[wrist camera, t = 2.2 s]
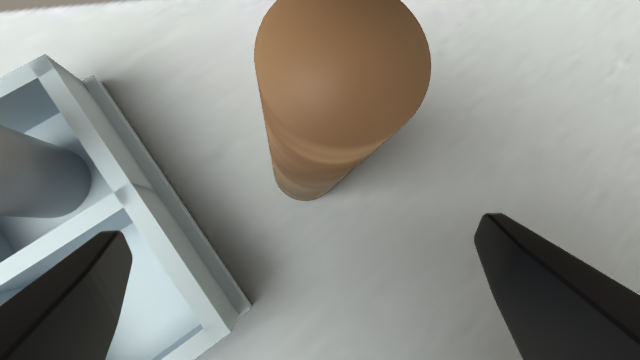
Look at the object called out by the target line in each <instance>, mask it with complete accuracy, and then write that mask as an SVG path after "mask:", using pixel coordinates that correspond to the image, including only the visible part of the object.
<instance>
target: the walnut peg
mask: <svg viewBox="0 0 640 360" xmlns="http://www.w3.org/2000/svg"><path fill="white" fill-rule="evenodd" d="M254 62H255V69H256V75H257V81H258V86H259V92H260V97H261V103H262V109H263V114H264V120H265V126H266V131H267V137H268V143H269V148H270V154H271V159H272V165H273V171H274V176H275V180H276V182H277V184H278V186H279V187H280V189H281V190H282V191H283V192H284V193H285V194H287V195H288V196H290V197H291V198H294V199H297V200H302V201H309V200H314V199H317V198H319V197H321V196H323V195H324V194H325V193H327V192H328V191H329V190H330V189H331V188H332V187H334V186H335V185H336V184H337V183H338V182H339V181H340V180H342V179H343V178H344V177H345V176H346V175H347V174H348V173H350V172H351V171H352V170H353V169H354V168H355V167H356V166H358V165H359V164H360V163H361V162H362V161H363V160H364V159H366V158H367V157H368V156H369V155H370V154H371V153H372V152H373V151H375V150H376V149H377V148H378V147H379V146H380V145H381V144H383V143H384V142H385V141H386V140H387V139H388V138H389V137H391V136H392V135H393V134H394V133H395V132H396V131H397V130H399V129H400V128H401V127H402V126H403V125H404V124H405V123H407V121H408V120H409V119H410V118H411V117H412V116H413V115H414V114H415V112H416V111H417V110H418V108H419V107H420V105H421V103H422V101H423V99H424V97H425V95H426V92H427V89H428V86H429V81H430V75H431V58H430V51H429V46H428V42H427V40H426V37H425V34H424V32H423V30H422V28H421V26H420V24H419V22H418V21H417V19H416V18H415V16H414V15H413V13H412V12H411V11H410V10H409V9H408V8H407V6H406V5H405V4H403V3H402V2H401V1H400V0H277V1H276V2H275V3H274V4H273V5H272V7H271V8H270V9H269V10H268V12H267V14H266V15H265V17H264V18H263V20H262V23H261V25H260V27H259V30H258V33H257V37H256V42H255V49H254Z"/></svg>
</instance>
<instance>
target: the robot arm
mask: <svg viewBox="0 0 640 360" xmlns="http://www.w3.org/2000/svg"><path fill="white" fill-rule="evenodd" d="M474 243H475V246H476V249H477V252H478V255H479V258H480V261H481V263H482V266H483V269H484V272H485V275H486V278H487V280H488V283H489V286H490V289H491V291H492V294H493V297H494V299H495V301H496V303H497V306H498V308H499V310H500V312H501V314H502V316H503V318H504V320H505V322H506V324H507V327H508V329H509V331H510V333H511V335H512V337H513V339H514V341H515V343H516V345H517V348H518V350H519V352H520V354H521V356H522V358H523V360H640V295H638V294H637V293H635V292H633V291H631V290H630V289H628V288H626V287H625V286H623V285H621V284H620V283H618V282H616V281H615V280H613V279H611V278H610V277H608V276H606V275H605V274H603V273H601V272H600V271H598V270H596V269H595V268H593V267H591V266H590V265H588V264H586V263H585V262H583V261H581V260H580V259H578V258H576V257H575V256H573V255H571V254H570V253H568V252H566V251H564V250H563V249H561V248H559V247H558V246H556V245H554V244H553V243H551V242H549V241H548V240H546V239H544V238H543V237H541V236H539V235H538V234H536V233H534V232H533V231H531V230H529V229H528V228H526V227H524V226H523V225H521V224H519V223H518V222H516V221H514V220H513V219H511V218H509V217H508V216H506V215H504V214H502V213H486V214H484V215H483V216H482V218H481V221H480V223H479V226H478V228H477V230H476V233H475V236H474ZM132 260H133V257H132V252H131V250H130V248H129V245H128V243H127V241H126V239H125V236H124V234H123V233H122V232H121V231H119V230H107V231H101V232H99V233H98V234H96V235H95V236H94V237H92V238H91V239H90V240H88V241H87V242H86V243H84V244H83V245H81V246H80V247H79V248H77V249H76V250H75V251H73V252H72V253H71V254H69V255H68V256H67V257H65V258H64V259H63V260H61V261H60V262H59V263H57V264H56V265H55V266H53V267H52V268H51V269H49V270H48V271H46V272H45V273H44V274H42V275H41V276H40V277H38V278H37V279H36V280H34V281H33V282H32V283H30V284H29V285H28V286H26V287H25V288H24V289H22V290H21V291H20V292H18V293H17V294H16V295H14V296H13V297H11V298H10V299H9V300H7V301H6V302H5V303H3V304H2V305H1V306H0V360H105V359H106V356H107V353H108V351H109V348H110V345H111V342H112V339H113V337H114V334H115V331H116V328H117V325H118V321H119V317H120V314H121V309H122V305H123V301H124V296H125V292H126V288H127V284H128V279H129V275H130V271H131V266H132Z"/></svg>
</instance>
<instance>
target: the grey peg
mask: <svg viewBox="0 0 640 360" xmlns="http://www.w3.org/2000/svg"><path fill="white" fill-rule="evenodd" d="M90 186H91V174H90V170H89V168H88V166H87V164H86V162H85V161H84V160H83V159H82V158H81V157H80V156H79V155H77V154H76V153H74V152H72V151H70V150H67V149H64V148H61V147H59V146H56V145H53V144H51V143H48V142H45V141H43V140H40V139H37V138H34V137H32V136H29V135H26V134H24V133H21V132H18V131H16V130H13V129H10V128H8V127H5V126H2V125H0V216H9V217H30V218H58V217H62V216H65V215H67V214H69V213H71V212H73V211H74V210H76V209H77V208H78V207H79V206H80V205H81V204H82V203H83V202H84V200H85V199H86V197H87V195H88V193H89V190H90Z"/></svg>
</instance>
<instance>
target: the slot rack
mask: <svg viewBox="0 0 640 360" xmlns="http://www.w3.org/2000/svg"><path fill="white" fill-rule="evenodd" d="M0 125H2V126H5V127H8V128H10V129H13V130H16V131H18V132H21V133H24V134H26V135H29V136H32V137H34V138H37V139H40V140H43V141H45V142H48V143H51V144H53V145H56V146H59V147H61V148H64V149H67V150H70V151H72V152H74V153H76V154H77V155H79V156H80V157H81V158H82V159H83V160H84V161H85V162H86V164H87V166H88V168H89V170H90V174H91V186H90V190H89V193H88V195H87V197H86V199H85V200H84V202H83V203H82V204H81V205H80V206H79V207H78V208H77V209H76V210H74V211H73V212H71V213H69V214H67V215H65V216H62V217H58V218H30V217H9V216H0V306H1V305H2V304H3V303H5V302H6V301H7V300H9V299H10V298H11V297H13V296H14V295H16V294H17V293H18V292H20V291H21V290H22V289H24V288H25V287H26V286H28V285H29V284H30V283H32V282H33V281H34V280H36V279H37V278H38V277H40V276H41V275H42V274H44V273H45V272H46V271H48V270H49V269H51V268H52V267H53V266H55V265H56V264H57V263H59V262H60V261H61V260H63V259H64V258H65V257H67V256H68V255H69V254H71V253H72V252H73V251H75V250H76V249H77V248H79V247H80V246H81V245H83V244H84V243H86V242H87V241H88V240H90V239H91V238H92V237H94V236H95V235H96V234H98V233H99V232H101V231H107V230H119V231H121V232H122V233H123V234H124V236H125V239H126V241H127V243H128V245H129V248H130V250H131V252H132V257H133V260H132V266H131V271H130V275H129V279H128V284H127V288H126V292H125V296H124V301H123V305H122V309H121V314H120V317H119V321H118V325H117V328H116V331H115V334H114V337H113V339H112V342H111V345H110V348H109V351H108V353H107V356H106V359H105V360H194V359H196V358H197V357H198V356H200V355H201V354H202V353H204V352H205V351H206V350H208V349H209V348H211V347H212V346H213V345H215V344H216V343H217V342H219V341H220V340H221V339H223V338H224V337H225V336H227V335H228V334H229V333H231V331H232V329H233V327H234V325H235V323H236V321H237V319H239V318H240V317H241V316H243V315H244V314H245V313H247V312H248V311H249V310H251V308H252V305H251V304H250V302H249V301H248V299H247V298H246V296H245V295H244V293H243V292H242V290H241V289H240V287H239V286H238V284H237V283H236V281H235V280H234V278H233V277H232V275H231V274H230V273H229V271H228V270H227V268H226V267H225V265H224V264H223V262H222V261H221V259H220V258H219V256H218V255H217V253H216V252H215V250H214V249H213V247H212V246H211V244H210V243H209V241H208V240H207V238H206V237H205V235H204V234H203V232H202V231H201V230H200V228H199V227H198V225H197V224H196V222H195V221H194V219H193V218H192V216H191V215H190V213H189V212H188V210H187V209H186V207H185V206H184V204H183V203H182V201H181V200H180V198H179V197H178V195H177V194H176V192H175V191H174V189H173V188H172V186H171V185H170V184H169V182H168V181H167V179H166V178H165V176H164V175H163V173H162V172H161V170H160V169H159V167H158V166H157V164H156V163H155V161H154V160H153V158H152V157H151V155H150V154H149V152H148V151H147V149H146V148H145V146H144V145H143V143H142V142H141V141H140V139H139V138H138V136H137V135H136V133H135V132H134V130H133V129H132V127H131V126H130V124H129V123H128V121H127V120H126V118H125V117H124V115H123V114H122V112H121V111H120V109H119V108H118V106H117V105H116V103H115V102H114V100H113V99H112V97H111V96H110V95H109V93H108V92H107V90H106V89H105V87H104V86H103V84H102V83H101V81H99V80H98V79H97V78H96V77H94V76H91V77H89V78H87V79H85V80H84V81H81V80H79V79H78V78H77V77H75V76H74V75H73V74H71V73H70V72H69V71H67V70H66V69H65V68H63V67H62V66H60V65H59V64H58V63H56V62H55V61H54V60H52V59H51V58H50V57H48V56H47V55H46V54H45V55H43V56H41V57H39V58H37V59H35V60H33V61H31V62H29V63H28V64H26V65H24V66H22V67H20V68H18V69H16V70H14V71H12V72H11V73H9V74H7V75H5V76H3V77H1V78H0Z"/></svg>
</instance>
